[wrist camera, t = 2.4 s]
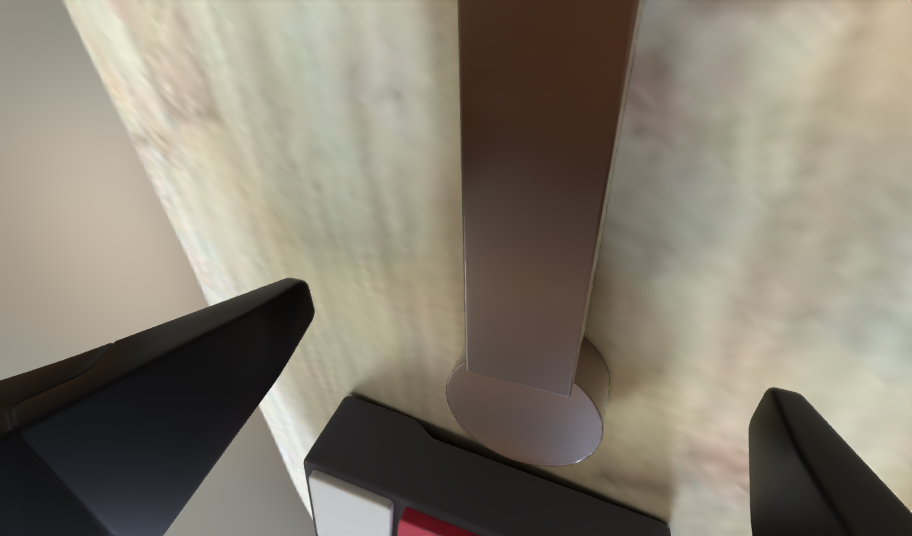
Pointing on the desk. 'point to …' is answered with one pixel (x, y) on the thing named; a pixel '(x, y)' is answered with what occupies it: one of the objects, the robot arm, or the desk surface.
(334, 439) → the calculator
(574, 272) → the spoon
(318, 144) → the desk surface
